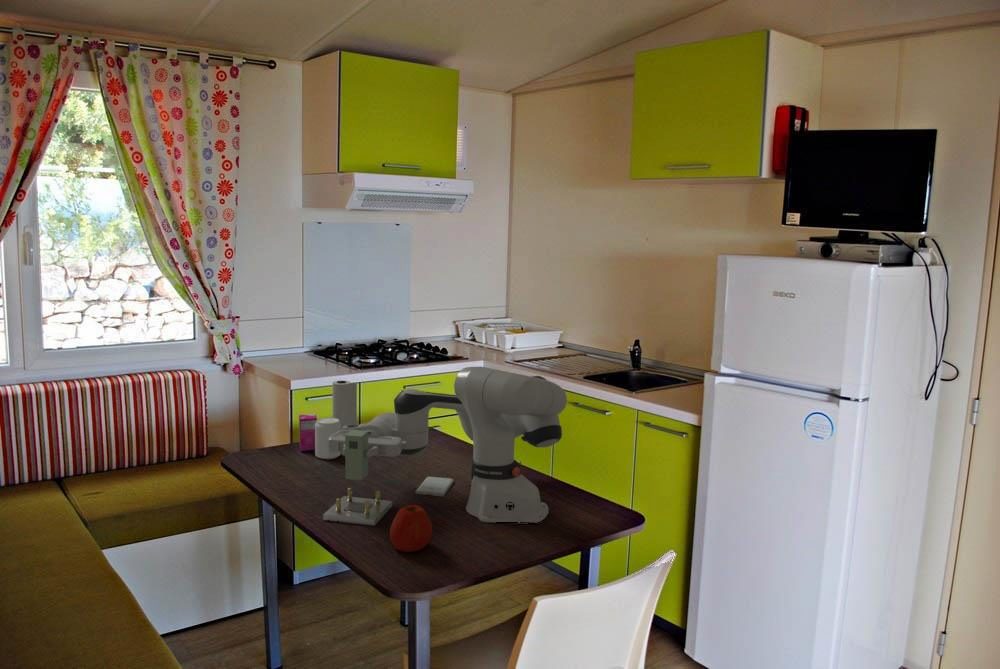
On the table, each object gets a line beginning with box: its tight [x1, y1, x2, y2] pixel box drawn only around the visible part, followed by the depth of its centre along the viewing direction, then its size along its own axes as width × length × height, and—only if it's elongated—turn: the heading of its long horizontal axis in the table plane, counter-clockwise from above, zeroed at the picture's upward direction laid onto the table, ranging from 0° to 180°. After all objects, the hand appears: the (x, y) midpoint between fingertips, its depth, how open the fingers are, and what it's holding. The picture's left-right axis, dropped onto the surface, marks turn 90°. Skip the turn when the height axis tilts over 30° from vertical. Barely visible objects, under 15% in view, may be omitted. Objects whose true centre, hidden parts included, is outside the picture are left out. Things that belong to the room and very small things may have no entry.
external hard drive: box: [414, 476, 454, 497], centre depth 239 cm, size 2×8×12 cm
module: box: [344, 430, 369, 481], centre depth 216 cm, size 4×5×12 cm
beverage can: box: [314, 417, 342, 460], centre depth 263 cm, size 8×8×12 cm
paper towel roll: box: [331, 380, 358, 430], centre depth 277 cm, size 7×6×21 cm
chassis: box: [322, 487, 393, 526], centre depth 217 cm, size 14×14×5 cm
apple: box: [389, 504, 433, 553], centre depth 197 cm, size 10×10×10 cm
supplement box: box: [298, 413, 318, 453], centre depth 270 cm, size 6×6×12 cm
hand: (355, 453), depth 215 cm, fingers closed on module, 4 cm apart
